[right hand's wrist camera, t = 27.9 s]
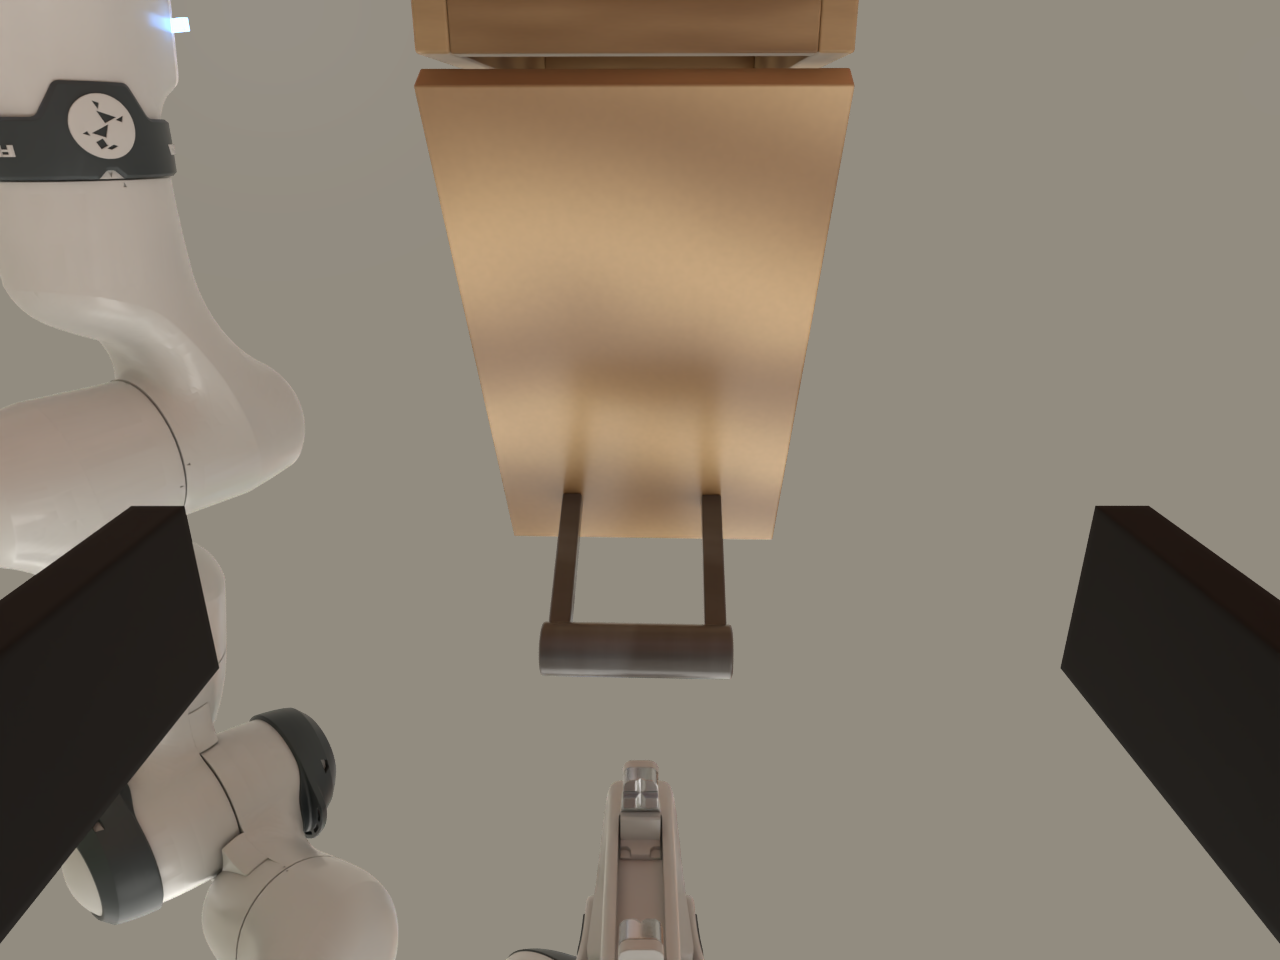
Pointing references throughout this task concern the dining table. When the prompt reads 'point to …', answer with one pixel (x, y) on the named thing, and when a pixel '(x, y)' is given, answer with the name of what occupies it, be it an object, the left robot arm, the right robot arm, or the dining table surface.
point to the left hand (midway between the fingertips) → (640, 842)
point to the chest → (634, 33)
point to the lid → (638, 310)
